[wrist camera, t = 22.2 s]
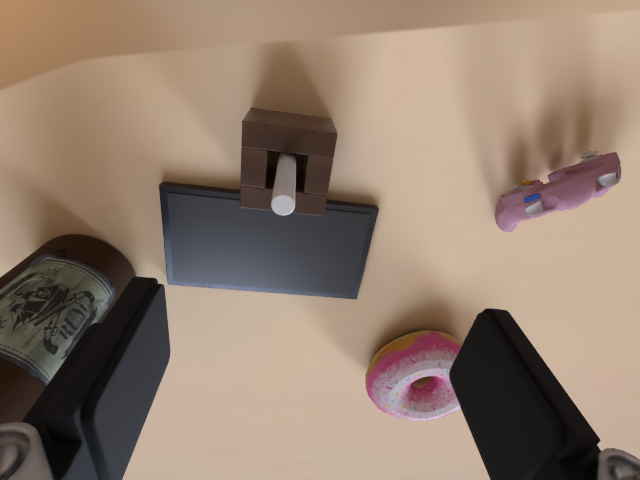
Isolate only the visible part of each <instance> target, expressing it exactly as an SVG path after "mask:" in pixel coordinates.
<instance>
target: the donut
mask: <svg viewBox="0 0 640 480" xmlns="http://www.w3.org/2000/svg"><path fill="white" fill-rule="evenodd" d="M462 345H463V343H462V342H461V341H459V340H458V339H456V338H455V337H453V336H452V335H449V334H446V333H444V332H439V331H432V330H430V331H418V332H413V333H409V334H407V335H404V336H401V337H399V338H397V339H395V340H393V341H391V342H390V343H388V344H387V345H385V346H384V347H382V348H381V349H380V350H379V351H378V352H377V353H376V354H375V356H374V357H373V359H372V360H371V362H370V365H369V367H368V370H367V373H366V380H365V383H366V389H367V393H368V396H369V397H370V398H371V400H372V401H373V402H374V403H375V405H376V406H377V407H378V408H379V409H381V410H382V411H383V412H385V413H387V414H390V415H392V416H395V417H398V418H401V419H405V420H413V421H425V420H431V419H436V418H440V417H443V416H446V415H448V414H450V413H453V412H454V411H456V410H458V409H459V408H461V407H460V404H459V402H458V399H457V397H456V395H455V392H454V390H453V387H452V385H451V383H450V379H449V371H450V368H451V366H452V364H453V362H454V360H455V358H456V356H457V355H458V353H459V351H460V349H461V347H462Z"/></svg>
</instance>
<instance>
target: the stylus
mask: <svg viewBox="0 0 640 480" xmlns="http://www.w3.org/2000/svg"><path fill="white" fill-rule="evenodd" d="M295 187H296V154H294V153H286V152H280V153H279V159H278V165H277V171H276V177H275V183H274V189H273V195H272V201H271V207H272V209H273V211H274V212H275V213H276V214H278V215H283V216H284V215H288V214H290V213H291V212H292V211H293V210H294V208H295Z"/></svg>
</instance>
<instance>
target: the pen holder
mask: <svg viewBox="0 0 640 480" xmlns="http://www.w3.org/2000/svg"><path fill="white" fill-rule="evenodd" d="M336 139H337V131H336V129H335V126H334V123H333V121H332V119H329V118H322V117H314V116H307V115H300V114H292V113H285V112H278V111H271V110H263V109H256V108H251V109H250V110H249V112H248V113H247V115H246V116H245V118H244V119H243V121H242V153H241V186H240V208H249V209H258V210H268V211H273V209H272V207H271V201H272V195H273V189H274V183H275V177H276V171H277V169H276V168H270V157H271V151H277V152H286V153H294V154H302V155H305V160H304V168H303V172H301V171H296V187H295V208H294V210H293V211H292V212H291V213H296V214H306V215H315V216H324V212H325V206H326V200H327V194H328V188H329V182H330V175H331V169H332V163H333V157H334V151H335V145H336Z"/></svg>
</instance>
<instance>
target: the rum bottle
mask: <svg viewBox="0 0 640 480" xmlns="http://www.w3.org/2000/svg"><path fill="white" fill-rule="evenodd" d="M133 277H135V273H134V270H133V268H132V266H131V265H130V263H129V262H128V260H127V259H126V258H125V257H124V256H123V255H122V254H121V253H120V252H119V251H118V250H117V249H115V248H114V247H112V246H111V245H109V244H107V243H105V242H103V241H101V240H99V239H96V238H93V237H89V236H84V235H64V236H59V237H56V238H54V239H52V240H50V241H48V242H47V243H45V244H44V245H43V246H41V247H40V248H39V249H37V250H36V251H35V252H34V253H32V254H31V255H30V256H28V257H27V258H26V259H24V260H23V261H22V262H20V263H19V264H18V265H17V266H15V267H14V268H13V269H11V270H10V271H9V272H7V273H6V274H5V275H3V276H2V277H1V278H0V424H4V423H11V422H22V420H23V419H24V417H25V416H26V414H27V413H28V412H29V410H30V409H31V407H32V406H33V405H34V403H35V402H36V400H37V399H38V397H39V396H40V395H41V393H42V392H43V390H44V389H45V388H46V386H47V385H48V383H49V382H50V381H51V379H52V378H53V376H54V375H55V373H56V372H57V371H58V369H59V368H60V366H61V365H62V364H63V362H64V361H65V359H66V358H67V356H68V355H69V354H70V352H71V351H72V349H73V348H74V347H75V345H76V344H77V342H78V341H79V339H80V338H81V337H82V335H83V334H84V332H85V331H86V330H87V328H88V327H89V326H90V325H91V324H93V323H102V322H103V320H104V319H105V317H106V316H107V314H108V313H109V311H110V310H111V308H112V307H113V305H114V304H115V303H116V301H117V300H118V298H119V297H120V295H121V294H122V292H123V291H124V289H125V288H126V286H127V285H128V283H129V282H130V280H131V279H132V278H133Z"/></svg>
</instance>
